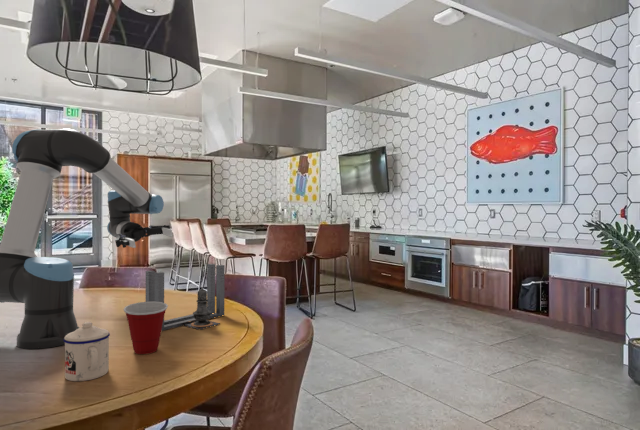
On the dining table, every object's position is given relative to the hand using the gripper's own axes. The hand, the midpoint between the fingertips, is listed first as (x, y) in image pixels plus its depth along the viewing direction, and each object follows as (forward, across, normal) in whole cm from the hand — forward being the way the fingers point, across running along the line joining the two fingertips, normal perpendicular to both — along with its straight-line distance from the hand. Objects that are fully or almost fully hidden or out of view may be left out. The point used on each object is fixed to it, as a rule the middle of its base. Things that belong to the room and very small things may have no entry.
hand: (153, 238), depth 148 cm
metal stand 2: (+20, +1, -27) cm, 33 cm away
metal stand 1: (+15, +2, -27) cm, 31 cm away
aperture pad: (+25, 0, -26) cm, 36 cm away
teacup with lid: (+46, +38, -15) cm, 62 cm away
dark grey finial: (+25, 0, -26) cm, 36 cm away
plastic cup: (+38, +23, -20) cm, 49 cm away
